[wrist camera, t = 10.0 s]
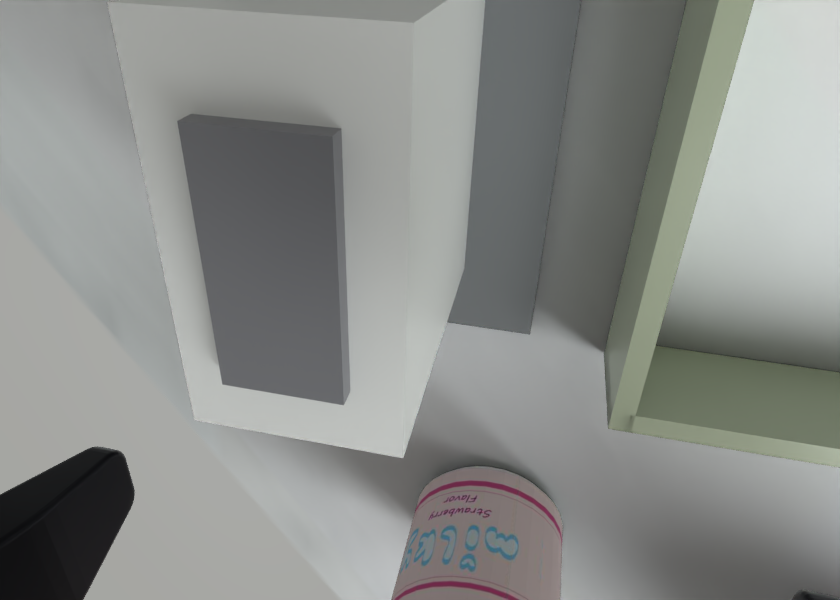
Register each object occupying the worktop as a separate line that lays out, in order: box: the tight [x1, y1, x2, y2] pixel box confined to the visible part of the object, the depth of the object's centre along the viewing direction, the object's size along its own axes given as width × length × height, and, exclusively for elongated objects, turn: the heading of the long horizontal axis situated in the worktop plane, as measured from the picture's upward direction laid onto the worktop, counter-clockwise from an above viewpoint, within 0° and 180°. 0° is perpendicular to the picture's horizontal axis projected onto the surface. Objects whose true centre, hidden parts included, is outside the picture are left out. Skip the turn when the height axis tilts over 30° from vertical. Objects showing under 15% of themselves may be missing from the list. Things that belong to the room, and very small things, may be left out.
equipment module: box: [107, 0, 485, 458], centre depth 14 cm, size 8×4×8 cm, turn 178°
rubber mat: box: [447, 0, 581, 334], centre depth 18 cm, size 12×9×1 cm
